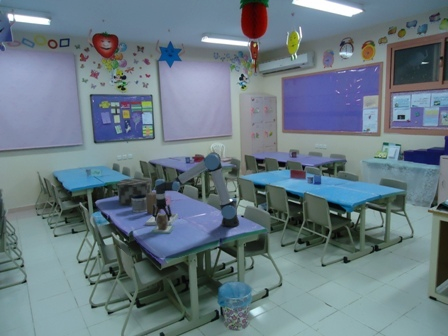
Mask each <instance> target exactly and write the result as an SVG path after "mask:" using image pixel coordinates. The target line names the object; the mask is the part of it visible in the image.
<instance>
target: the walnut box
mask: <svg viewBox="0 0 448 336" xmlns="http://www.w3.org/2000/svg"><path fill="white" fill-rule="evenodd" d="M158 214H159V215H158V225H157V226H158V229H159V230H166V229H167V228H168V226H169V225H167V215H166V213H158Z"/></svg>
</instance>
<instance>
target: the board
mask: <svg viewBox="0 0 448 336" xmlns="http://www.w3.org/2000/svg"><path fill="white" fill-rule="evenodd" d="M175 227H176V225H168V228H167V229H166V230H159V229H158V225H155V227H154V228H153V229H152V230H151V232H150V235H151V234H153V235H159V234H160V235H164V234H166V235H167V234H171V233H172V231H173V229H174V228H175Z"/></svg>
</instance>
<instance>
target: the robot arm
mask: <svg viewBox="0 0 448 336" xmlns="http://www.w3.org/2000/svg"><path fill="white" fill-rule="evenodd" d="M206 170H207V171H208V174H210V175H211V178H212V181H213V184H214V186H215V190H216V192H217V196H218V199H219V207H220V208H219V209H220V213H221V216H222V220H221V226H222V227H225V228H235V227H237V226H239V225H240V220H239V217H238V205H237V204H238V203H237V202H238V201H237V198H236V197H231V196H230V192H229V190H228V187H227V184H226V180H225V178H224V174H223V172H222V170H223V165H222V162H221V155H220V154H219V153H217V152H213V151H212V152H210V153H209V154H207V155H206V156H205V157H203V158H202V160H201V161H200V162H198V163H197V164H195V165H194V166H192V167H190V168H189V169H187V170H185V171H184V172H183V173H181V174H179V175H178V176H177V177H174V178H173V179H172V180H171V181H165V179H163V178H159V179H156V180H155V183H154V184H155V185H154V186H155V192H156V198H157V199H156V201H157V204H156V205H155V204H154V205H153V214H151V217H152V216H153V217H155V221H156V225H155V226H158V217H157V215H158V214H159V213H158V212H159V210H160V209H161V210H163V211H164V214H166V215H167V225H168V226H170V225H169V221H170V217H171V216H172V214H173V213H172V211H171V205H170V204H167V197H166V192H178V191H180V190H181V189H180V188H181V185H183V184H185V183H187V182H188V181H189V180H191V179H193V178H194V177H197V176H198V175H200V173H202V172H204V171H206ZM156 206H157V207H158V209H157V212H156V214H155V210H156Z"/></svg>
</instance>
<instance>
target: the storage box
mask: <svg viewBox="0 0 448 336" xmlns="http://www.w3.org/2000/svg"><path fill="white" fill-rule="evenodd" d="M152 182H153V181H152V178H151V177H138V178H137V177H136V178H125V179H120V180H119V182H117V184H116V185H117V191H118V192H117V193H118V203H119V204H118V205H119V206H120V207H121V206H122V207H129V206H131V207H132V199H131V198H132V197H133V196H136V195H146V194H147V193H152V192H153V185H152Z"/></svg>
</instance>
